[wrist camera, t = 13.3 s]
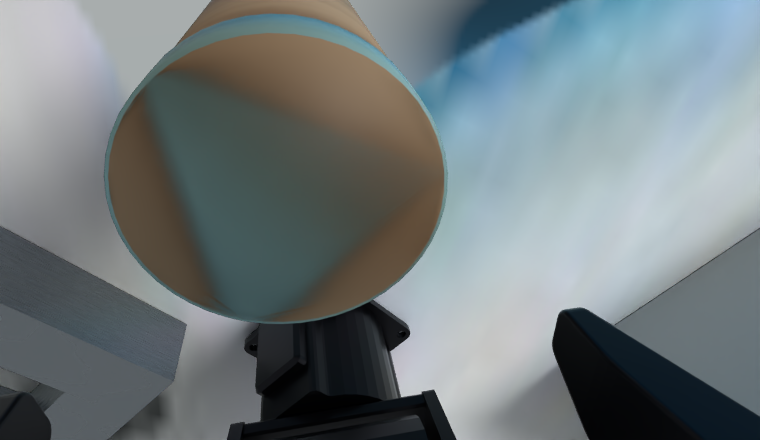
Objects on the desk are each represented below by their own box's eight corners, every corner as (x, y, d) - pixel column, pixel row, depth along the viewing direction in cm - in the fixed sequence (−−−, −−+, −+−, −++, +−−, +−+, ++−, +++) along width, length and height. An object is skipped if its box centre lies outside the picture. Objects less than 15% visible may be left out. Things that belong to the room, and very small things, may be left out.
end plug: (305, 118, 19) (329, 358, 9) (189, 44, 17) (47, 248, 7) (378, 13, 18) (511, 160, 7) (260, -84, 16) (214, -67, 5)
